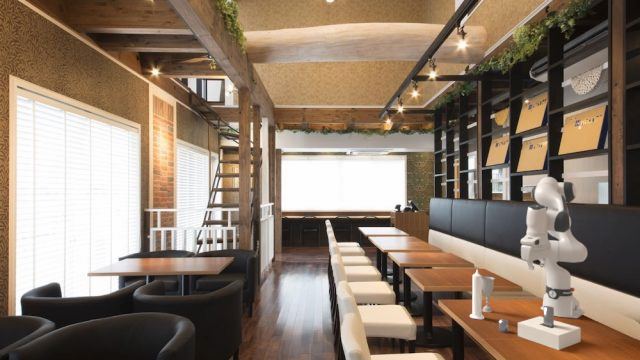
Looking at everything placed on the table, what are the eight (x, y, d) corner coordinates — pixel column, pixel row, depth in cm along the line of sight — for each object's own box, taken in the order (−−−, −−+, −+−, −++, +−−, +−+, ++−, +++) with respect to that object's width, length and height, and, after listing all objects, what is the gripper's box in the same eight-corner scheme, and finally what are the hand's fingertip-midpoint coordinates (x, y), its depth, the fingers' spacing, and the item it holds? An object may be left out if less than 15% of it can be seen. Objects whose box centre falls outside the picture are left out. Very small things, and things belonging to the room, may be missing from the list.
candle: (485, 320, 202) (485, 270, 202) (470, 319, 203) (471, 270, 203) (482, 315, 209) (483, 268, 209) (468, 314, 210) (468, 267, 210)
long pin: (546, 336, 180) (546, 305, 181) (555, 339, 177) (555, 307, 177) (541, 338, 178) (541, 306, 178) (550, 341, 175) (550, 309, 175)
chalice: (493, 309, 219) (494, 277, 219) (495, 313, 212) (495, 279, 212) (479, 308, 221) (479, 276, 221) (480, 312, 215) (480, 278, 215)
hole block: (539, 328, 190) (539, 316, 190) (580, 341, 175) (580, 327, 175) (517, 335, 181) (517, 322, 181) (558, 350, 165) (558, 335, 165)
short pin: (502, 329, 189) (502, 318, 189) (510, 331, 186) (510, 321, 186) (497, 330, 187) (497, 319, 187) (504, 333, 184) (504, 322, 184)
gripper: (542, 236, 196) (542, 264, 197) (518, 240, 185) (518, 269, 186) (555, 237, 191) (555, 266, 191) (531, 242, 180) (531, 272, 180)
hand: (536, 268), depth 188 cm, fingers open, 8 cm apart
